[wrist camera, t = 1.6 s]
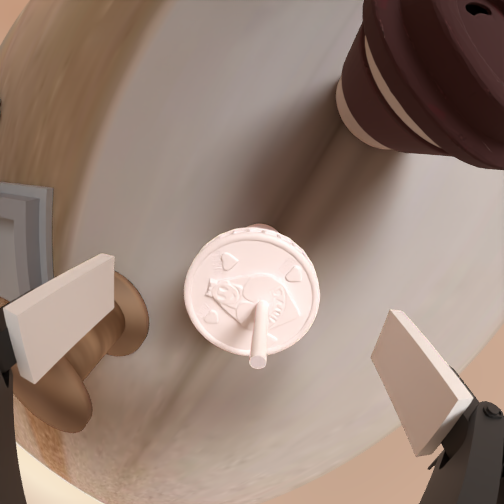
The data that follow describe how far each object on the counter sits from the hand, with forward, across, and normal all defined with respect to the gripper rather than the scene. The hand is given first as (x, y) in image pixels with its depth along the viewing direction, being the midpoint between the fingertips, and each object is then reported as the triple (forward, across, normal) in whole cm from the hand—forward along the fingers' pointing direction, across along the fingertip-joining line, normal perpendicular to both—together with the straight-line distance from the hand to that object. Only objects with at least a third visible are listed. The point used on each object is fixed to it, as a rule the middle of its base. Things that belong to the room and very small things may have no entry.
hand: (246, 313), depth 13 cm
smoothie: (+10, 0, 0) cm, 10 cm away
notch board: (+10, -27, -4) cm, 29 cm away
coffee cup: (+10, +7, +14) cm, 18 cm away
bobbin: (+10, -13, -8) cm, 19 cm away
